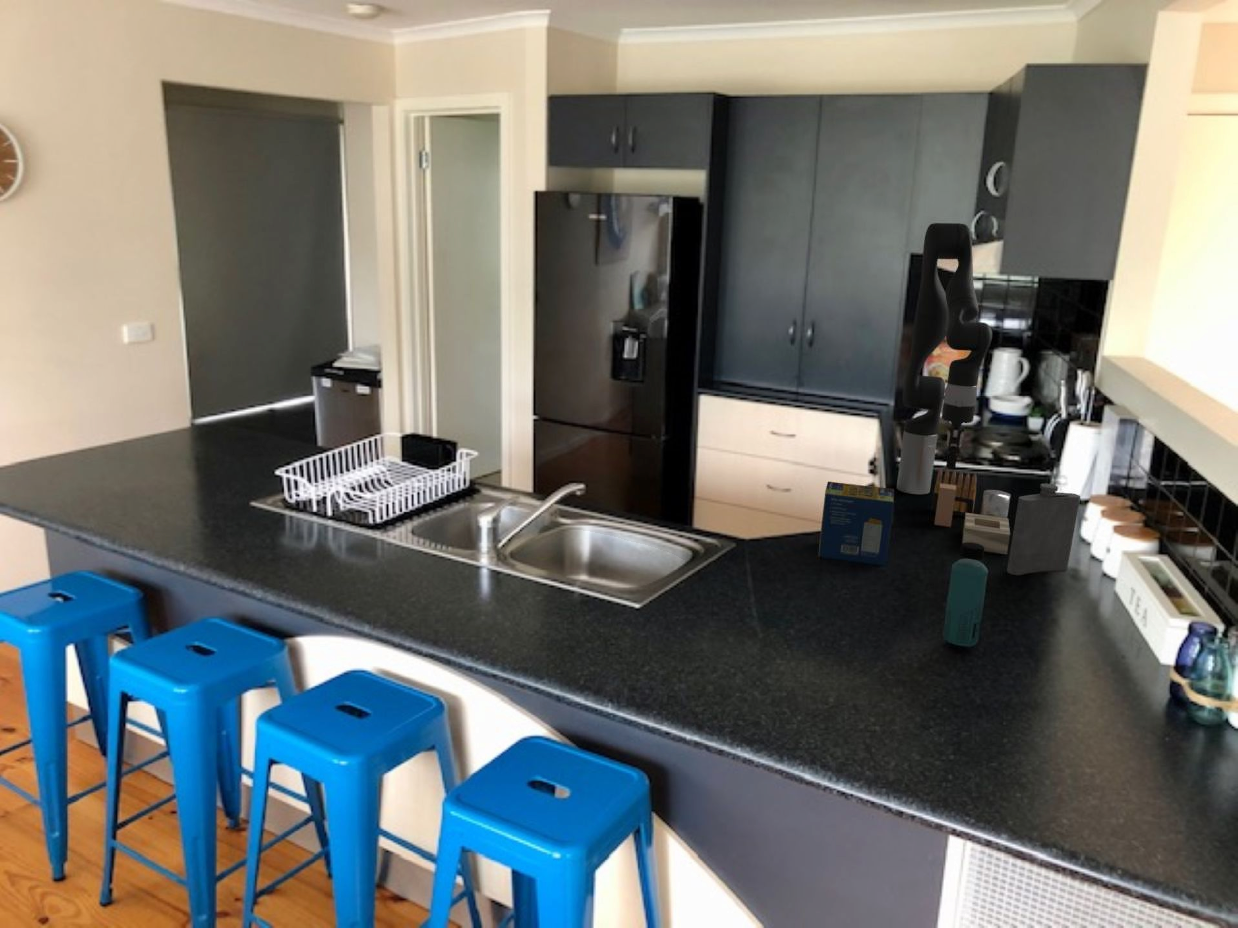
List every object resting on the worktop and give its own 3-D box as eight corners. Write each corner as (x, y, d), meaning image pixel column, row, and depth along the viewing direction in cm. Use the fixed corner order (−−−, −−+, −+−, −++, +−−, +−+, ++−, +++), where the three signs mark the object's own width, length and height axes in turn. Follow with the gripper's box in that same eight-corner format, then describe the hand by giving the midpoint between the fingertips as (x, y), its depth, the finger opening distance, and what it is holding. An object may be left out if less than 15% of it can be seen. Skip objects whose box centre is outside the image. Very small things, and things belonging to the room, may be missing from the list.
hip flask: (1013, 575, 213) (1027, 490, 207) (1001, 569, 216) (1014, 484, 211) (1070, 569, 218) (1085, 486, 213) (1057, 563, 222) (1071, 481, 216)
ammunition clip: (973, 516, 253) (979, 473, 250) (972, 518, 252) (978, 474, 249) (931, 509, 258) (937, 466, 255) (930, 510, 257) (936, 468, 253)
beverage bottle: (973, 657, 172) (989, 553, 167) (935, 647, 176) (950, 545, 170) (981, 644, 178) (996, 543, 172) (944, 635, 181) (959, 535, 176)
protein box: (820, 542, 228) (827, 480, 224) (887, 551, 225) (895, 488, 220) (817, 557, 219) (824, 492, 215) (886, 566, 215) (894, 501, 211)
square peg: (935, 520, 249) (940, 483, 246) (951, 522, 248) (956, 485, 245) (934, 524, 245) (939, 487, 243) (950, 526, 244) (956, 489, 241)
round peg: (978, 521, 249) (983, 488, 247) (1004, 525, 247) (1010, 492, 245) (978, 528, 244) (983, 495, 241) (1005, 532, 242) (1011, 498, 239)
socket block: (962, 531, 241) (965, 512, 240) (1005, 537, 238) (1008, 518, 236) (962, 547, 229) (965, 528, 228) (1006, 554, 226) (1010, 534, 225)
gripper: (944, 395, 246) (936, 456, 250) (943, 405, 233) (934, 469, 237) (975, 398, 243) (966, 460, 248) (975, 408, 230) (966, 473, 235)
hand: (950, 464), depth 242 cm, fingers open, 8 cm apart
